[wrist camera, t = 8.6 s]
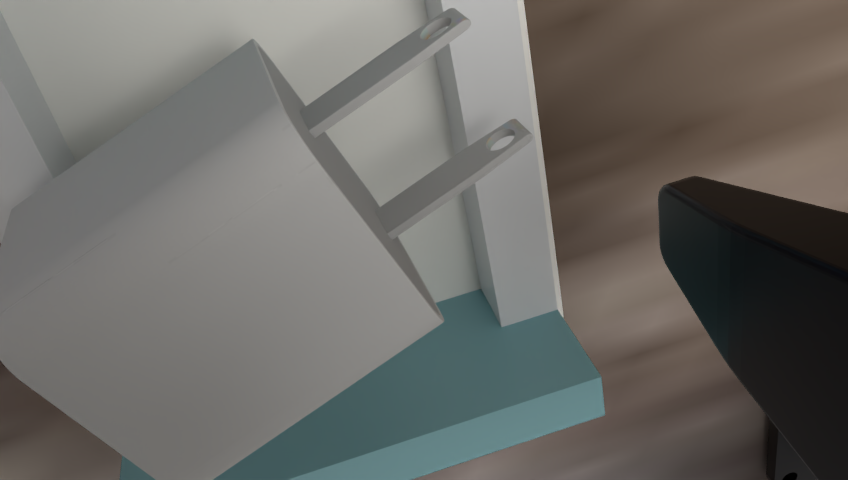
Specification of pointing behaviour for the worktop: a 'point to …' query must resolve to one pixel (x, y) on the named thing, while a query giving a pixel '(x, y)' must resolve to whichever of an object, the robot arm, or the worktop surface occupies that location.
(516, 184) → the end holder
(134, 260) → the usb wall charger
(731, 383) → the worktop surface
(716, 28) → the worktop surface
